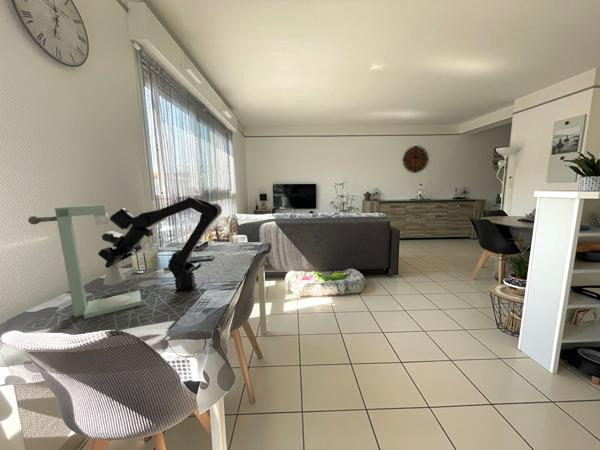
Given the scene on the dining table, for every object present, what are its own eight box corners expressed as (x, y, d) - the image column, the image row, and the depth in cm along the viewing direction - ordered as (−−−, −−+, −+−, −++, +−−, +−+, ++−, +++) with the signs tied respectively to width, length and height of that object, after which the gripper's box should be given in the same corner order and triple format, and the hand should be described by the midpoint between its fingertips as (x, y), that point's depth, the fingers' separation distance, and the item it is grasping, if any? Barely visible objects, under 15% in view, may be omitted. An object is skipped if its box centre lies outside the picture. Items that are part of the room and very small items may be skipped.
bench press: (140, 294, 102) (127, 202, 97) (141, 304, 92) (127, 204, 87) (53, 313, 88) (32, 208, 83) (43, 328, 78) (19, 210, 73)
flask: (114, 286, 99) (111, 261, 98) (99, 285, 101) (95, 261, 99) (130, 279, 107) (127, 256, 105) (115, 279, 108) (112, 256, 106)
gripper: (130, 220, 109) (107, 247, 111) (99, 227, 91) (72, 259, 92) (151, 237, 111) (129, 263, 112) (125, 247, 93) (98, 278, 94)
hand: (109, 265), depth 102 cm, fingers closed on flask, 3 cm apart
